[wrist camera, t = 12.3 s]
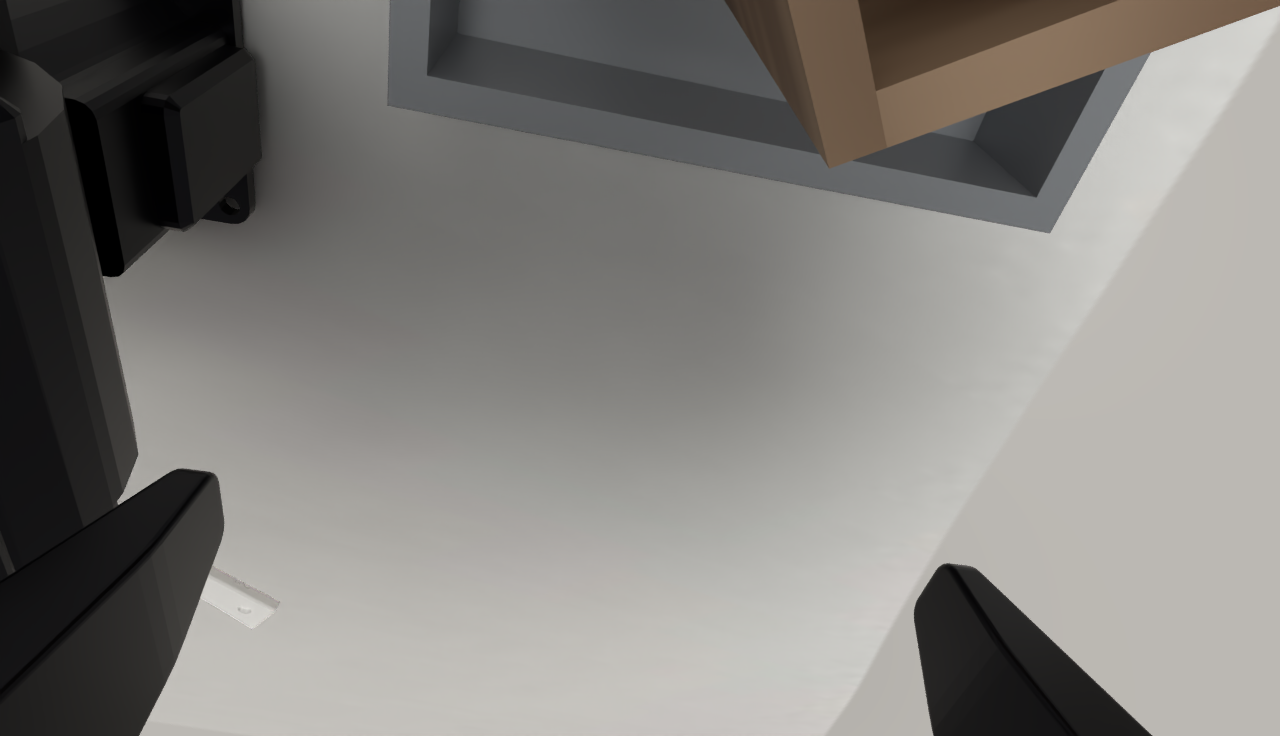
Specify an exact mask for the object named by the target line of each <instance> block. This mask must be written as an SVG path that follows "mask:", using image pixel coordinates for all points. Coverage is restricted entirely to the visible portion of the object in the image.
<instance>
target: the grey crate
mask: <svg viewBox="0 0 1280 736" xmlns="http://www.w3.org/2000/svg"><path fill="white" fill-rule="evenodd" d="M1149 55H1150V53H1148V54H1145V55H1142V56H1140V57H1137V58H1134V59H1131V60H1128V61H1126V62H1123V63H1120V64H1117V65H1115V66H1112V67H1109V68H1106V69H1104V70H1101V71H1098V72H1095V73H1093V74H1090V75H1087V76H1084V77H1081V78H1079V79H1076V80H1073V81H1070V82H1068V83H1065V84H1062V85H1059V86H1057V87H1054V88H1051V89H1048V90H1046V91H1043V92H1040V93H1037V94H1034V95H1032V96H1029V97H1026V98H1023V99H1021V100H1018V101H1015V102H1012V103H1010V104H1007V105H1004V106H1001V107H999V108H996V109H993V110H990V111H987V112H985V113H982V114H979V115H976V116H974V117H971V118H968V119H965V120H963V121H960V122H957V123H954V124H952V125H949V126H946V127H943V128H940V129H938V130H935V131H932V132H929V133H927V134H924V135H921V136H918V137H916V138H913V139H910V140H907V141H905V142H902V143H899V144H896V145H893V146H891V147H888V148H885V149H882V150H880V151H877V152H874V153H871V154H869V155H866V156H863V157H860V158H858V159H855V160H852V161H849V162H846V163H844V164H841V165H838V166H835V167H833V168H830V169H829V168H828V166H827V165H826V163H825V161H824V160H823V158H822V157H821V155H820V153H819V152H818V150H817V149H816V147H815V145H814V144H813V142H812V140H811V139H810V137H809V136H808V134H807V132H806V131H805V129H804V128H803V126H802V124H801V123H800V121H799V120H798V118H797V116H796V115H795V113H794V112H793V110H792V108H791V107H790V105H789V103H788V102H787V100H786V99H785V97H784V95H783V94H782V92H781V91H780V89H779V87H778V86H777V84H776V83H775V81H774V79H773V78H772V76H771V75H770V73H769V71H768V70H767V68H766V67H765V65H764V63H763V62H762V60H761V58H760V57H759V55H758V54H757V52H756V50H755V49H754V47H753V46H752V44H751V42H750V41H749V39H748V38H747V36H746V34H745V33H744V31H743V30H742V28H741V26H740V25H739V23H738V21H737V20H736V18H735V17H734V15H733V13H732V12H731V10H730V9H729V7H728V5H727V4H726V2H725V1H724V0H390V21H389V65H388V106H393V107H398V108H403V109H408V110H413V111H419V112H424V113H429V114H434V115H439V116H445V117H450V118H455V119H460V120H465V121H470V122H476V123H481V124H486V125H491V126H496V127H501V128H507V129H512V130H517V131H522V132H527V133H533V134H538V135H543V136H548V137H553V138H558V139H564V140H569V141H574V142H579V143H584V144H589V145H595V146H600V147H605V148H610V149H615V150H621V151H626V152H631V153H636V154H641V155H646V156H652V157H657V158H662V159H667V160H672V161H678V162H683V163H688V164H693V165H698V166H703V167H709V168H714V169H719V170H724V171H729V172H734V173H740V174H745V175H750V176H755V177H760V178H766V179H771V180H776V181H781V182H786V183H791V184H797V185H802V186H807V187H812V188H817V189H822V190H828V191H833V192H838V193H843V194H848V195H854V196H859V197H864V198H869V199H874V200H879V201H885V202H890V203H895V204H900V205H905V206H911V207H916V208H921V209H926V210H931V211H936V212H942V213H947V214H952V215H957V216H962V217H967V218H973V219H978V220H983V221H988V222H993V223H999V224H1004V225H1009V226H1014V227H1019V228H1024V229H1030V230H1035V231H1040V232H1045V233H1050V232H1051V230H1052V229H1053V227H1054V225H1055V223H1056V222H1057V220H1058V218H1059V216H1060V214H1061V213H1062V211H1063V209H1064V207H1065V205H1066V204H1067V202H1068V200H1069V198H1070V196H1071V195H1072V193H1073V191H1074V189H1075V188H1076V186H1077V184H1078V182H1079V180H1080V179H1081V177H1082V175H1083V173H1084V171H1085V170H1086V168H1087V166H1088V164H1089V162H1090V161H1091V159H1092V157H1093V155H1094V153H1095V152H1096V150H1097V148H1098V146H1099V145H1100V143H1101V141H1102V139H1103V137H1104V136H1105V134H1106V132H1107V130H1108V128H1109V127H1110V125H1111V123H1112V121H1113V119H1114V118H1115V116H1116V114H1117V112H1118V110H1119V109H1120V107H1121V105H1122V103H1123V102H1124V100H1125V98H1126V96H1127V94H1128V93H1129V91H1130V89H1131V87H1132V85H1133V84H1134V82H1135V80H1136V78H1137V76H1138V75H1139V73H1140V71H1141V69H1142V68H1143V66H1144V64H1145V62H1146V60H1147V59H1148V57H1149Z"/></svg>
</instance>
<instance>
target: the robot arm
mask: <svg viewBox="0 0 1280 736" xmlns="http://www.w3.org/2000/svg"><path fill="white" fill-rule="evenodd" d="M261 158H262V152H261V138H260V124H259V110H258V96H257V82H256V68H255V60H254V59H253V57H252V56H251V55H250V54H249V52H248V51H247V50H246V49H245V48H243V39H242V27H241V14H240V2H239V0H0V736H139V735H140V733H141V731H142V729H143V727H144V725H145V723H146V721H147V719H148V717H149V715H150V713H151V711H152V709H153V707H154V705H155V703H156V701H157V700H158V698H159V696H160V694H161V692H162V690H163V688H164V686H165V684H166V682H167V680H168V677H169V675H170V673H171V671H172V669H173V667H174V665H175V663H176V660H177V658H178V655H179V653H180V650H181V648H182V645H183V643H184V640H185V637H186V634H187V632H188V629H189V626H190V624H191V621H192V618H193V616H194V613H195V610H196V608H197V605H198V602H199V600H200V597H201V594H202V591H203V589H204V586H205V583H206V581H207V578H208V575H209V573H210V570H211V567H212V565H213V562H214V559H215V557H216V554H217V551H218V549H219V546H220V543H221V540H222V536H223V531H224V516H223V508H222V501H221V494H220V487H219V481H218V478H217V476H216V475H215V474H214V473H211V472H207V471H199V470H191V469H176V470H174V471H171V472H169V473H168V474H166V475H165V476H163V477H162V478H160V479H158V480H157V481H155V482H154V483H152V484H151V485H149V486H148V487H146V488H144V489H143V490H141V491H140V492H138V493H137V494H135V495H134V496H132V497H130V498H129V499H127V500H126V501H124V502H123V503H121V504H120V505H118V503H117V500H118V499H119V498H120V496H121V495H122V494H123V492H124V489H125V487H126V484H127V482H128V479H129V477H130V474H131V472H132V469H133V467H134V464H135V462H136V459H137V457H138V449H137V442H136V435H135V429H134V422H133V417H132V412H131V408H130V403H129V398H128V394H127V389H126V384H125V380H124V375H123V370H122V365H121V361H120V356H119V351H118V347H117V342H116V337H115V333H114V328H113V323H112V319H111V314H110V309H109V305H108V300H107V295H106V290H105V286H104V281H103V276H107V277H118V276H120V275H121V274H122V273H124V272H125V271H126V270H127V269H128V268H129V267H130V266H131V265H132V264H133V263H134V262H135V261H136V260H138V259H139V258H140V257H141V256H142V255H143V254H144V253H145V252H146V251H147V250H148V249H149V248H150V247H151V246H152V245H153V244H155V243H156V242H157V241H158V240H159V239H160V238H161V237H162V236H163V235H164V234H165V233H166V232H167V231H168V230H169V229H171V230H177V231H183V232H184V231H187V230H188V229H190V228H191V227H192V226H193V225H195V224H196V223H197V222H198V221H199V220H200V219H206V220H212V221H218V222H224V223H230V224H239V223H241V222H244V221H245V220H246V219H247V218H248V217H249V216H250V215H251V214H252V212H253V211H254V210H255V190H254V178H253V167H254V166H255V165H256V164H257V163H258V162H259V161H260V160H261ZM225 197H230V198H233V199H235V200H236V201H237V202H238V204H239V207H240V209H235V208H233V207H231V206H230V205H229V204H228V203H227V202H226V199H225ZM914 623H915V628H916V635H917V641H918V648H919V654H920V660H921V666H922V672H923V678H924V685H925V691H926V697H927V704H928V710H929V715H930V720H931V726H932V731H933V735H934V736H1152V735H1151V734H1150V733H1149V732H1148V731H1147V730H1146V729H1145V728H1143V727H1142V726H1141V725H1140V724H1139V723H1138V722H1137V721H1136V720H1135V719H1134V718H1133V717H1132V716H1131V715H1130V714H1129V713H1128V712H1127V711H1126V710H1125V709H1123V707H1121V706H1120V705H1119V704H1118V703H1117V702H1116V701H1115V700H1114V699H1113V698H1112V697H1111V696H1110V695H1109V694H1108V693H1107V692H1106V691H1105V690H1104V689H1103V688H1101V687H1100V686H1099V685H1098V684H1097V683H1096V682H1095V681H1094V680H1093V679H1092V678H1091V677H1090V676H1089V675H1088V674H1087V673H1085V671H1083V670H1082V669H1081V668H1080V667H1079V666H1078V665H1077V664H1076V663H1075V662H1074V661H1073V660H1072V659H1071V658H1070V657H1069V656H1068V655H1067V654H1066V653H1064V651H1063V650H1062V649H1060V648H1059V647H1058V646H1057V645H1056V644H1055V643H1054V642H1053V641H1052V640H1051V639H1050V638H1049V637H1048V636H1047V635H1046V634H1045V633H1044V632H1043V631H1041V629H1039V628H1038V627H1037V626H1036V625H1035V624H1034V623H1033V622H1032V621H1031V620H1030V619H1029V618H1028V617H1027V616H1026V615H1025V614H1024V613H1022V612H1021V610H1019V609H1018V608H1017V607H1016V606H1015V605H1014V604H1013V603H1012V602H1011V601H1010V600H1009V599H1008V598H1007V597H1006V596H1005V595H1003V593H1002V592H1000V590H998V589H997V588H996V587H995V586H994V585H993V584H992V583H991V582H990V581H989V580H988V579H987V578H986V577H985V576H984V575H983V574H982V573H980V572H979V571H978V570H977V569H975V568H973V567H971V566H966V565H958V564H950V563H947V564H943V565H941V566H940V567H938V569H937V570H936V572H935V573H934V575H933V576H932V578H931V579H930V581H929V582H928V584H927V585H926V587H925V588H924V590H923V592H922V593H921V595H920V596H919V598H918V600H917V602H916V605H915V609H914Z"/></svg>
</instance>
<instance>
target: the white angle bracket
mask: <svg viewBox="0 0 1280 736" xmlns="http://www.w3.org/2000/svg"><path fill="white" fill-rule="evenodd" d="M200 598H201V599H202V600H204V601H206V602H208V603H209V604H211V605H213V606H214V607H216V608H218V609H219V610H221V611H223V612H224V613H226V614H228V615H229V616H231V617H232V618H234V619H236V620H237V621H239V622H241V623H242V624H244V625H245V626H247V627H249V628H250V629H253V628H255V627H256V626H257V625H259V624H260V623H261V622H263V621H264V620H265V619H267V618H268V617H269V616H271V615H272V614H273V613H274V612H275V611H276V609H277V607H278V605H279V602H280V601H278V600H276V599H274V598H272V597H270V596H268V595H266V594H264V593H263V592H261V591H259V590H257V589H255V588H253V587H251V586H249V585H247V584H244V583H243V582H242V581H240V580H238V579H236V578H234V577H232V576H231V575H229V574H227V573H225V572H223V571H221V570H219V569H217V568H215V567H214V566H212V567H211V570H210V573H209V575H208V578H207V581H206V583H205V586H204V589H203V591H202V594H201V597H200Z"/></svg>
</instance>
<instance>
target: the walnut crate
mask: <svg viewBox="0 0 1280 736" xmlns="http://www.w3.org/2000/svg"><path fill="white" fill-rule="evenodd" d="M724 1H725V2H726V4H727V5H728V7H729V9H730V10H731V12H732V13H733V15H734V17H735V18H736V20H737V21H738V23H739V25H740V26H741V28H742V30H743V31H744V33H745V34H746V36H747V38H748V39H749V41H750V42H751V44H752V46H753V47H754V49H755V50H756V52H757V54H758V55H759V57H760V58H761V60H762V62H763V63H764V65H765V67H766V68H767V70H768V71H769V73H770V75H771V76H772V78H773V79H774V81H775V83H776V84H777V86H778V87H779V89H780V91H781V92H782V94H783V95H784V97H785V99H786V100H787V102H788V103H789V105H790V107H791V108H792V110H793V112H794V113H795V115H796V116H797V118H798V120H799V121H800V123H801V124H802V126H803V128H804V129H805V131H806V132H807V134H808V136H809V137H810V139H811V140H812V142H813V144H814V145H815V147H816V149H817V150H818V152H819V153H820V155H821V157H822V158H823V160H824V161H825V163H826V165H827V166H828V168H829V169H830V168H833V167H835V166H838V165H841V164H844V163H846V162H849V161H852V160H855V159H858V158H860V157H863V156H866V155H869V154H871V153H874V152H877V151H880V150H882V149H885V148H888V147H891V146H893V145H896V144H899V143H902V142H905V141H907V140H910V139H913V138H916V137H918V136H921V135H924V134H927V133H929V132H932V131H935V130H938V129H940V128H943V127H946V126H949V125H952V124H954V123H957V122H960V121H963V120H965V119H968V118H971V117H974V116H976V115H979V114H982V113H985V112H987V111H990V110H993V109H996V108H999V107H1001V106H1004V105H1007V104H1010V103H1012V102H1015V101H1018V100H1021V99H1023V98H1026V97H1029V96H1032V95H1034V94H1037V93H1040V92H1043V91H1046V90H1048V89H1051V88H1054V87H1057V86H1059V85H1062V84H1065V83H1068V82H1070V81H1073V80H1076V79H1079V78H1081V77H1084V76H1087V75H1090V74H1093V73H1095V72H1098V71H1101V70H1104V69H1106V68H1109V67H1112V66H1115V65H1117V64H1120V63H1123V62H1126V61H1128V60H1131V59H1134V58H1137V57H1140V56H1142V55H1145V54H1148V53H1151V52H1153V51H1156V50H1159V49H1162V48H1164V47H1167V46H1170V45H1173V44H1175V43H1178V42H1181V41H1184V40H1187V39H1189V38H1192V37H1195V36H1198V35H1200V34H1203V33H1206V32H1209V31H1211V30H1214V29H1217V28H1220V27H1222V26H1225V25H1228V24H1231V23H1234V22H1236V21H1239V20H1242V19H1245V18H1247V17H1250V16H1253V15H1256V14H1258V13H1261V12H1264V11H1267V10H1269V9H1272V8H1275V7H1278V6H1280V0H724Z"/></svg>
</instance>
